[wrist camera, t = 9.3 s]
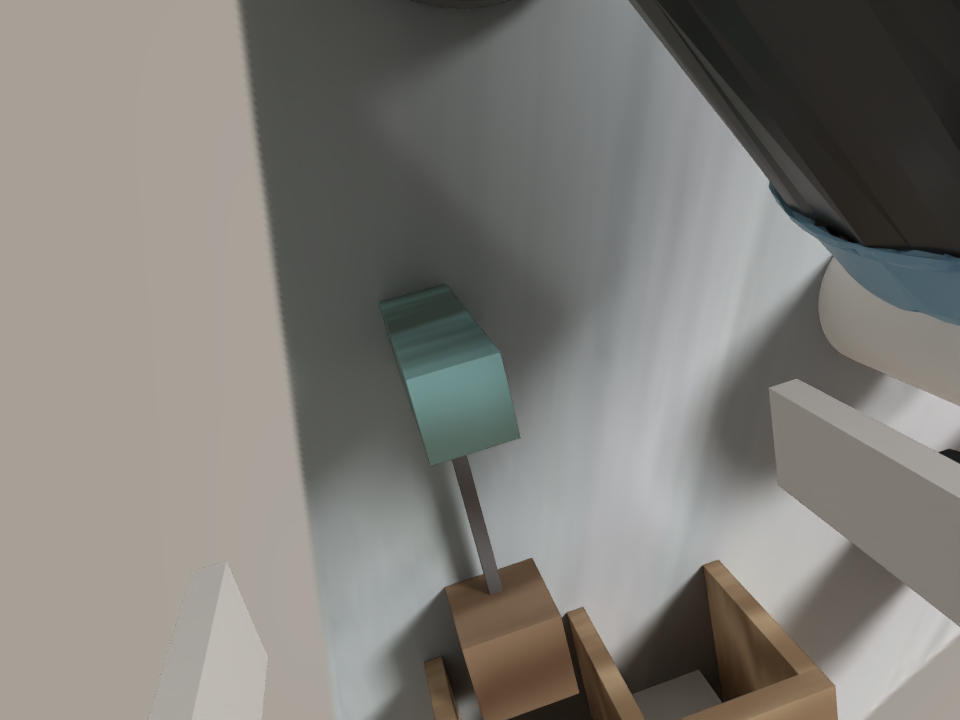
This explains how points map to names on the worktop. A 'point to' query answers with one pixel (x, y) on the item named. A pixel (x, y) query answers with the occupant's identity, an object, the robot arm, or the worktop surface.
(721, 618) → the shelf
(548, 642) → the tether block
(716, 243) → the worktop surface
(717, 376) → the worktop surface
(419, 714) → the worktop surface
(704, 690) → the grey block
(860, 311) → the cup
